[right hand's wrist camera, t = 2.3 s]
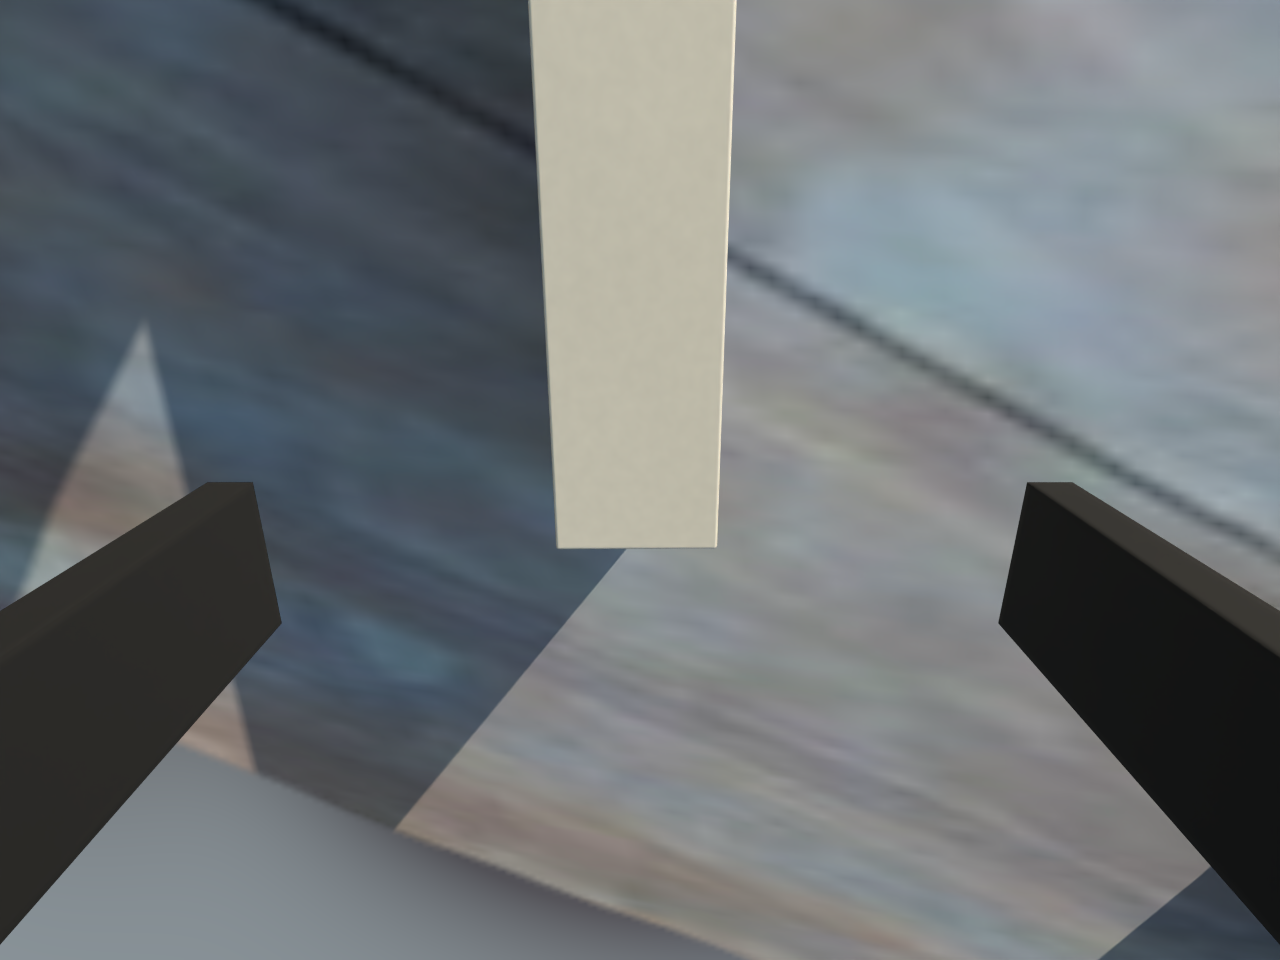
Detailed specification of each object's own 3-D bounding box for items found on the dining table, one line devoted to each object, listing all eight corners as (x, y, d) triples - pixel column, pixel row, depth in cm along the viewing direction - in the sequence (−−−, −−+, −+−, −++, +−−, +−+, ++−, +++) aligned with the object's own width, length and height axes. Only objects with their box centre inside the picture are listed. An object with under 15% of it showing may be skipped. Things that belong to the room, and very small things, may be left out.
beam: (697, 464, 30) (717, 549, 22) (577, 465, 30) (555, 550, 22) (723, -593, 19) (776, -1119, 12) (537, -591, 19) (469, -1115, 12)
